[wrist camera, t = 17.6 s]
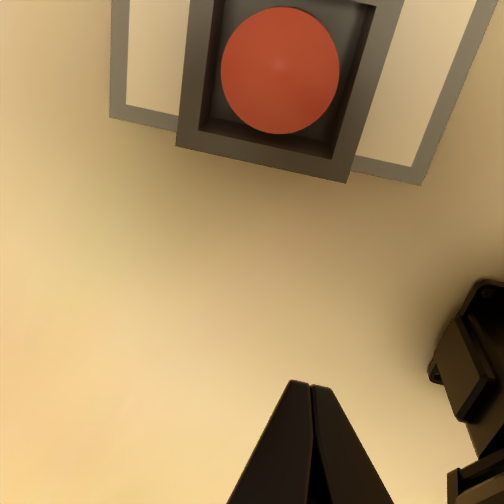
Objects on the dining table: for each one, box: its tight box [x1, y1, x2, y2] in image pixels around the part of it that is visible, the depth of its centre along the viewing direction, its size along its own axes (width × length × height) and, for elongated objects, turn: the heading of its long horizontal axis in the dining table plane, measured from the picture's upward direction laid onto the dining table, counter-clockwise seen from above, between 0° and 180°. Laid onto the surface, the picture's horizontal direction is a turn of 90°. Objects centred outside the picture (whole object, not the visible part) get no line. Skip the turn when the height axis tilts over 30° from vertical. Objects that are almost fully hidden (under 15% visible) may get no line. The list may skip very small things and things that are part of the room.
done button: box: [221, 6, 339, 134], centre depth 14 cm, size 4×4×2 cm
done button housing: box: [176, 0, 405, 183], centre depth 15 cm, size 6×6×3 cm
